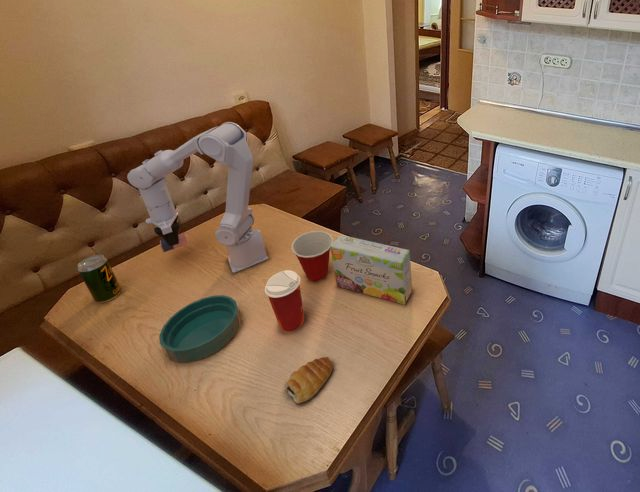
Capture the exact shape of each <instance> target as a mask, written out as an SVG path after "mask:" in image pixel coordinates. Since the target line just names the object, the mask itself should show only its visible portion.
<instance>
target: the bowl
mask: <svg viewBox="0 0 640 492" xmlns="http://www.w3.org/2000/svg"><path fill="white" fill-rule="evenodd" d="M241 323H242V316H241V312H240V308H239V306H238V303H237V300H235V299H234V298H233V297H231V296H228V295H224V294H220V295H219V294H218V295H210V296H206V297H203V298H200V299H197V300H195V301H193V302H191V303H189V304H187V305H185V306H184V307H182V308H180V309H178V311H177V312H175V313H174V314H173V315H172V316H171V317H169V319H168V320H167V321H166V322H165V324H163V326H162V329H161V330H160V332H159V336H158V338H159V345H160V346H161V350H162V351H163V353H164V355H165V356H166V357H167V359H168V360H169V361H172V362H175V363H178V364H181V363H183V364H184V363H191V362H195V361H199V360H202V359H204V358H207V357H209V356H211V355H212V354H214V353H216V352H218V351H219V350H220V349H222V348H223V347H224V346H226V345H227V344H228V343H229V342H230V341H231V340H232V339H233V338H234V337H235V336H236V334H237V332H238V331H239V329H240V327H241Z"/></svg>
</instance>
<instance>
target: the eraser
mask: <svg viewBox="0 0 640 492" xmlns="http://www.w3.org/2000/svg"><path fill="white" fill-rule="evenodd" d="M178 237H179V244H176V245H173V246H169V245H168V244H167V242H166V241H165V240H164V239H163V238H162V239H160V240H159V246H160V248H161V251H162V253H166V252H169V251H171V250H175V249H177V248H180V247H183V246H187V245H189V241H188V237H187V233H186V232H182V233H178Z"/></svg>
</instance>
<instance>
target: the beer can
mask: <svg viewBox="0 0 640 492" xmlns="http://www.w3.org/2000/svg"><path fill="white" fill-rule="evenodd" d="M77 271H78V274H79V275H80V277H81V279H82V281H83V282H84V284H85V286H86V288H87V290H88V291H89V293H90V295H91V297H92V299H93V301H94V302H96V303H98V304H105V303H108V302H111V301H113V300H114V299H116V298H117V297H119V296H120V295H121V292H122V287H121V284H120V283H119V280H118V279H117V277H116V275H115V272H114V270H113V268H112V267H111V264H110V262H109V260H108V258H107V257H105V255H103V254H95V255H91V256H88V257H86V258H84V259H82V260H81V261H80V262H79V263H77Z"/></svg>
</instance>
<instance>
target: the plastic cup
mask: <svg viewBox="0 0 640 492" xmlns="http://www.w3.org/2000/svg"><path fill="white" fill-rule="evenodd" d="M333 242H334V238H333V237H332V234H330V233H328V232H327V231H323V230H311V231H308V232H304V233H302V234H299V236H297V237H296V238H295V239H294V240H293V241H292V244H291V247H290V248H291V251H292V253H293V254H294V255H295V257H296V258H297V260H298V261H299V264H300V266H301V268H302V270H303V272H304V274H305V276H306V278H307V280H308V281H310V282H314V283H316V282H320V281H322V280H324V279H325V278H326V277H327V276H328V274H329V268H330V267H329V264H330V254H331V249H330V245H331V244H332V243H333Z"/></svg>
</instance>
